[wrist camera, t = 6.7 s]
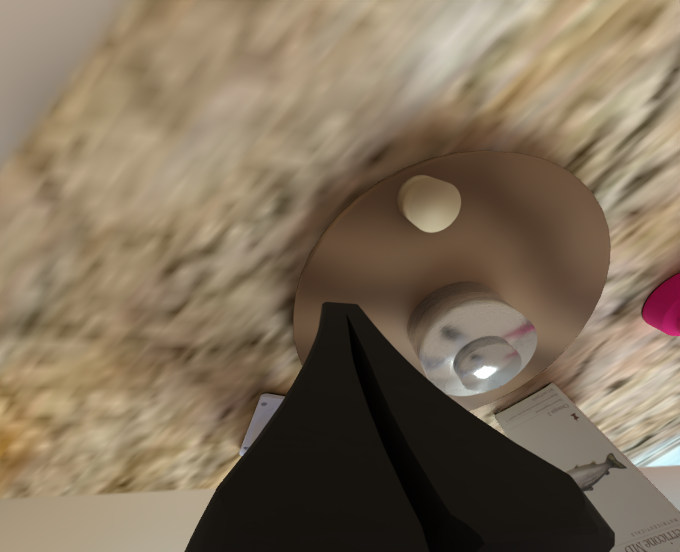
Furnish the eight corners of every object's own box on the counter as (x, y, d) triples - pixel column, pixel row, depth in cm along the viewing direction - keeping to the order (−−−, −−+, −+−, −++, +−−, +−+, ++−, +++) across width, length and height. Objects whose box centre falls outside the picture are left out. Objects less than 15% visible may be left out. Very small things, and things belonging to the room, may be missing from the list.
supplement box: (552, 379, 27) (720, 546, 16) (573, 408, 30) (727, 565, 19) (490, 414, 29) (602, 585, 18) (516, 437, 32) (626, 596, 21)
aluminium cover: (467, 363, 21) (503, 414, 17) (391, 349, 20) (412, 402, 16) (519, 294, 18) (576, 336, 14) (435, 270, 17) (474, 311, 13)
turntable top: (473, 423, 28) (494, 460, 25) (259, 386, 22) (250, 429, 19) (660, 229, 18) (732, 248, 15) (376, 71, 12) (399, 48, 9)
